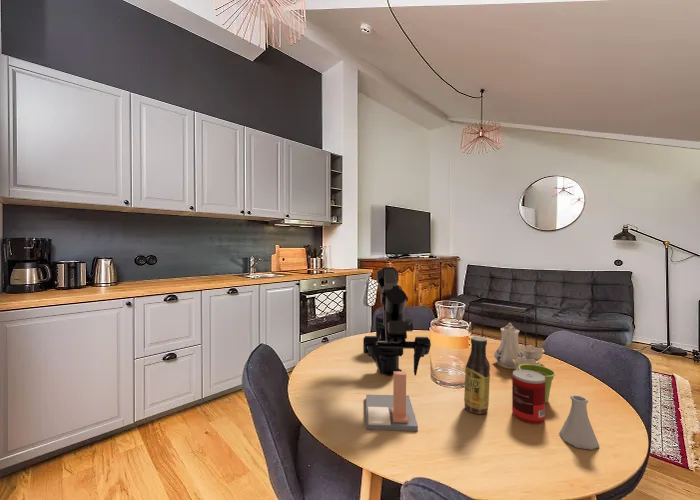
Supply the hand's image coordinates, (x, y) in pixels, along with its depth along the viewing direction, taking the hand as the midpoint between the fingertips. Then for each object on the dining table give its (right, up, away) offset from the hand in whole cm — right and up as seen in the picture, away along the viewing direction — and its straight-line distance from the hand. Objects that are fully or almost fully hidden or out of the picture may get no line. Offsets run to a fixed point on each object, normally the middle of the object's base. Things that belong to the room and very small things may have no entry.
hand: (398, 374), depth 86 cm
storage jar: (+3, -10, +52) cm, 53 cm away
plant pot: (+42, -11, +9) cm, 44 cm away
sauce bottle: (+22, -11, +2) cm, 25 cm away
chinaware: (+50, -11, +34) cm, 62 cm away
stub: (0, -9, -4) cm, 10 cm away
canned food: (+34, -11, -1) cm, 36 cm away
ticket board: (-2, -11, +1) cm, 11 cm away
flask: (+40, -11, -11) cm, 43 cm away
